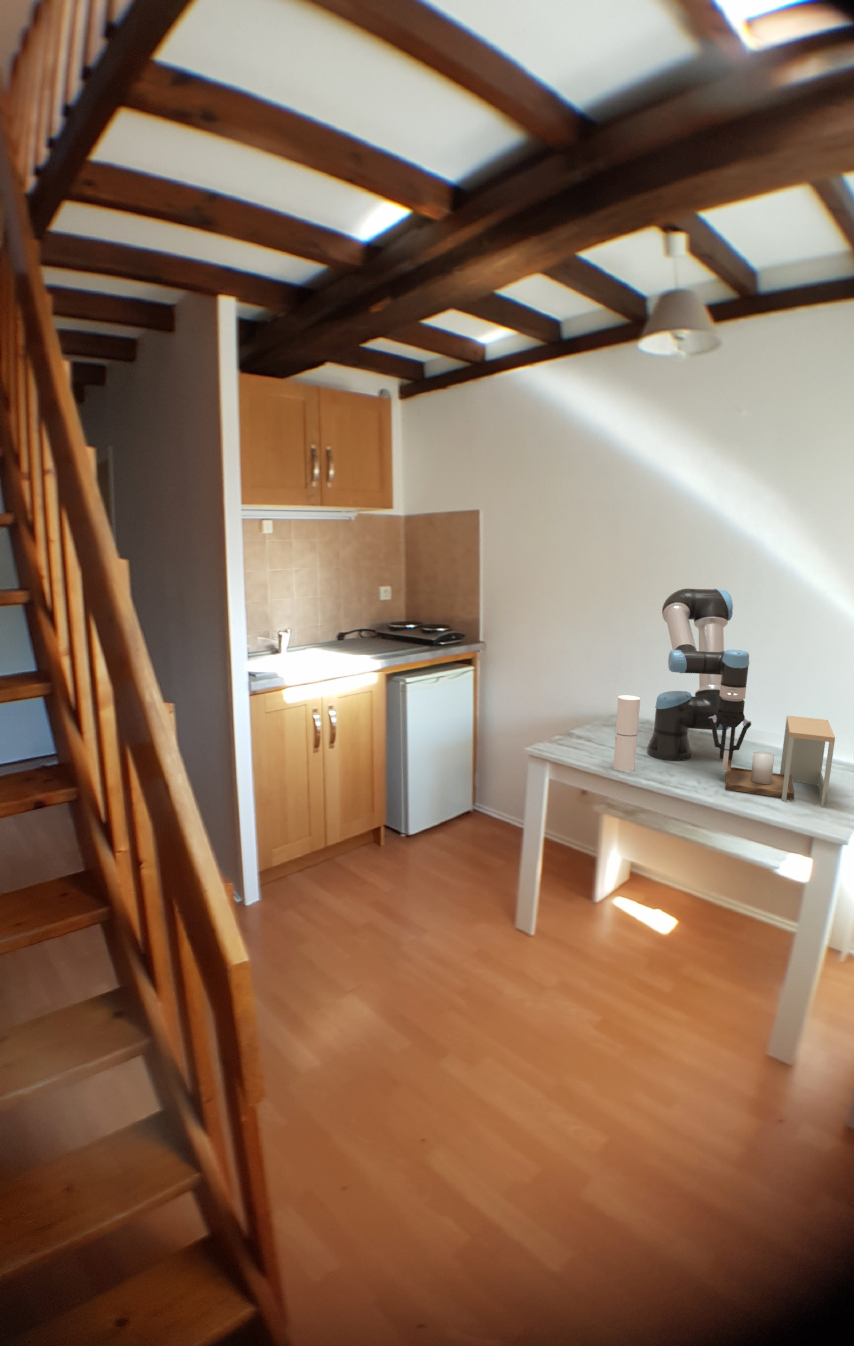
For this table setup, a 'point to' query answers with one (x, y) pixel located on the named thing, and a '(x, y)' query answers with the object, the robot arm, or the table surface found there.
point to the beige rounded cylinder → (762, 767)
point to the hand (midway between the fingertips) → (724, 769)
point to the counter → (807, 753)
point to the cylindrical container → (626, 732)
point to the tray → (742, 782)
